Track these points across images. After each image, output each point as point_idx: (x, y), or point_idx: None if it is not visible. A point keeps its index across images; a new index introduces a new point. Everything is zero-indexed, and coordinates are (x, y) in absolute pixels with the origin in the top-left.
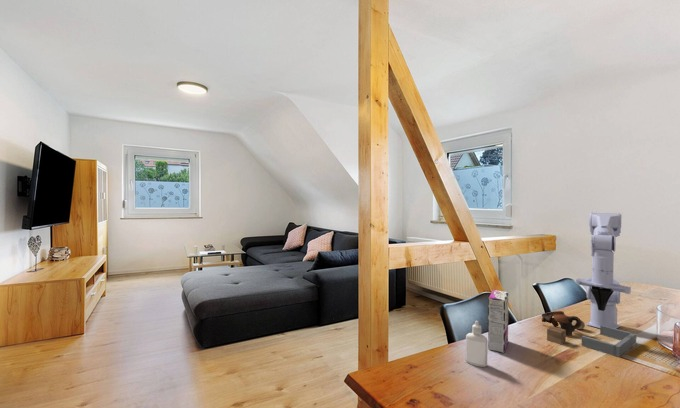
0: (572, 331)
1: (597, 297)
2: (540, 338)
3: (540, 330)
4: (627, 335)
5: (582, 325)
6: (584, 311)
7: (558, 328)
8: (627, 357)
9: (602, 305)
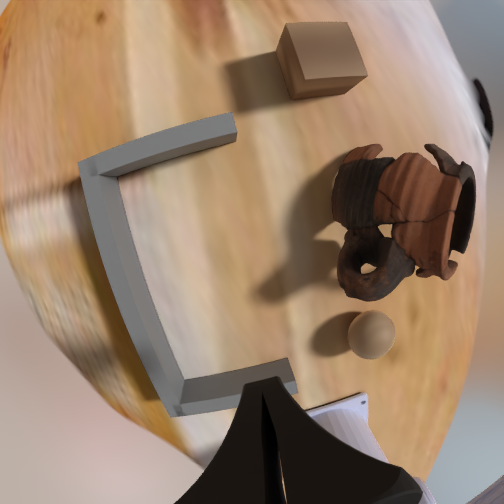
0: (341, 223)
1: (300, 449)
2: None
3: (413, 133)
4: (191, 395)
5: (353, 331)
6: (406, 464)
7: (334, 69)
8: None
9: (244, 409)
